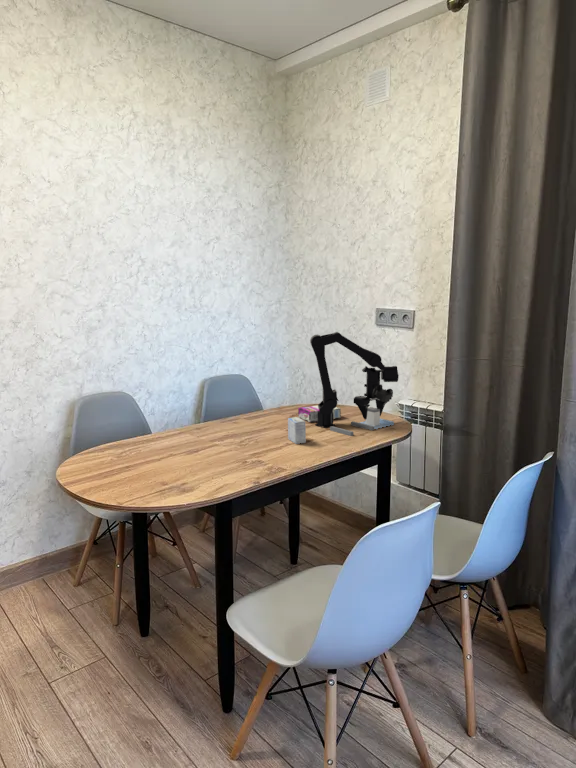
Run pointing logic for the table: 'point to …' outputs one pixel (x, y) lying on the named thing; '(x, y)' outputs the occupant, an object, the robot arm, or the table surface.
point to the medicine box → (296, 430)
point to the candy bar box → (315, 413)
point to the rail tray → (362, 426)
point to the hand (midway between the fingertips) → (372, 417)
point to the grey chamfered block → (373, 416)
